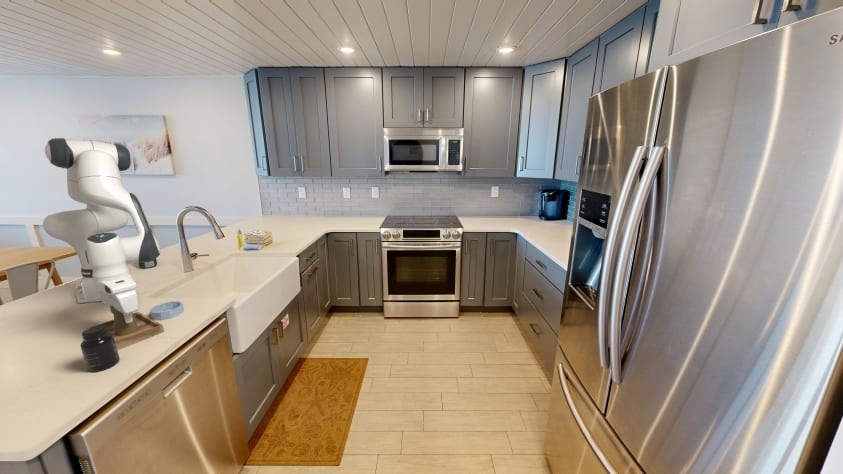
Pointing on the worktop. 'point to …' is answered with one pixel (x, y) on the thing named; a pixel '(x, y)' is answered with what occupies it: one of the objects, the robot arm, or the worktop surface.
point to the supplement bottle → (99, 349)
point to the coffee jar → (147, 264)
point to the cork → (122, 323)
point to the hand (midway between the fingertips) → (123, 318)
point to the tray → (144, 331)
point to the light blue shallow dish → (176, 310)
